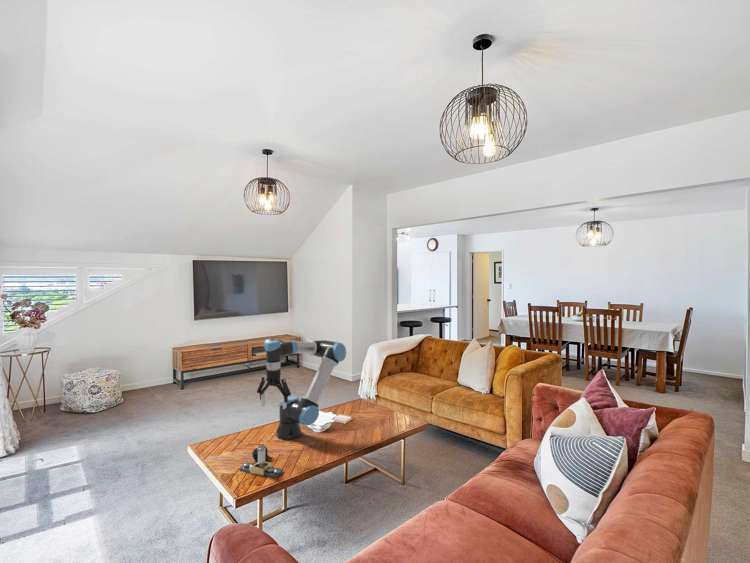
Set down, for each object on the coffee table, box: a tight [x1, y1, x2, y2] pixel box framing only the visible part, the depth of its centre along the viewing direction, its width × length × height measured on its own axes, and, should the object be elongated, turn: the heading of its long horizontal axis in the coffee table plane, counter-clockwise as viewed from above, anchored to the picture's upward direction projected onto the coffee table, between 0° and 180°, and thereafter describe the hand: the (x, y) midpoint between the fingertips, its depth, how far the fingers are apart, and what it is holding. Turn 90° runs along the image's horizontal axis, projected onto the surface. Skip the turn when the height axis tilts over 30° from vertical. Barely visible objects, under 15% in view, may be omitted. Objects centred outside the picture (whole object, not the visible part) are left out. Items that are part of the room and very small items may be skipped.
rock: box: [252, 444, 269, 463], centre depth 210 cm, size 10×9×6 cm
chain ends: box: [239, 461, 284, 479], centre depth 196 cm, size 8×22×3 cm, turn 71°
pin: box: [256, 445, 267, 468], centre depth 196 cm, size 4×4×12 cm
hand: (273, 407), depth 215 cm, fingers open, 13 cm apart
